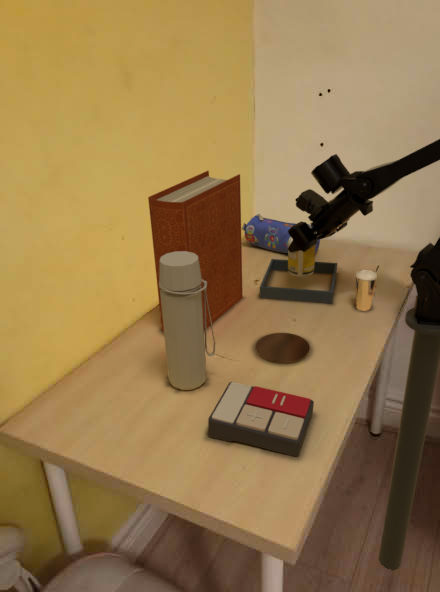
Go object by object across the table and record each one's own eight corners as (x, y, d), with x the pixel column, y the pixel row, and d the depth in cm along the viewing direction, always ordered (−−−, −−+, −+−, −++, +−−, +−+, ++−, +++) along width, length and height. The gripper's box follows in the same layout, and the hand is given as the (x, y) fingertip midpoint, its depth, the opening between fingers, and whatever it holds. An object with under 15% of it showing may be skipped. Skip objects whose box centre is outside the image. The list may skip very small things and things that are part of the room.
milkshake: (380, 309, 123) (385, 269, 118) (360, 313, 122) (364, 273, 117) (368, 300, 127) (372, 261, 122) (349, 305, 125) (352, 265, 121)
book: (213, 290, 134) (207, 170, 120) (242, 297, 131) (240, 174, 116) (159, 333, 117) (144, 198, 103) (190, 342, 114) (179, 204, 99)
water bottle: (172, 396, 98) (159, 270, 86) (165, 372, 104) (153, 252, 92) (221, 388, 99) (216, 263, 87) (211, 364, 106) (205, 245, 94)
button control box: (300, 439, 81) (207, 416, 85) (297, 460, 83) (207, 436, 88) (314, 396, 90) (230, 377, 94) (312, 416, 92) (229, 396, 97)
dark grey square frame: (336, 273, 141) (337, 262, 139) (332, 303, 126) (333, 292, 125) (271, 269, 145) (271, 258, 143) (259, 298, 130) (259, 286, 129)
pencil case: (241, 247, 159) (240, 216, 155) (257, 238, 165) (257, 208, 160) (307, 263, 147) (308, 230, 143) (322, 253, 153) (324, 221, 148)
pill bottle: (318, 269, 135) (320, 225, 129) (307, 279, 130) (309, 233, 124) (294, 265, 138) (295, 221, 132) (283, 274, 133) (283, 229, 127)
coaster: (312, 337, 114) (312, 335, 113) (306, 366, 104) (306, 364, 104) (260, 332, 116) (260, 330, 116) (250, 360, 107) (250, 358, 107)
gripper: (338, 171, 127) (297, 209, 138) (296, 190, 114) (254, 230, 126) (367, 209, 126) (323, 244, 137) (327, 232, 113) (283, 269, 125)
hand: (296, 246), depth 131 cm, fingers closed on pill bottle, 6 cm apart
